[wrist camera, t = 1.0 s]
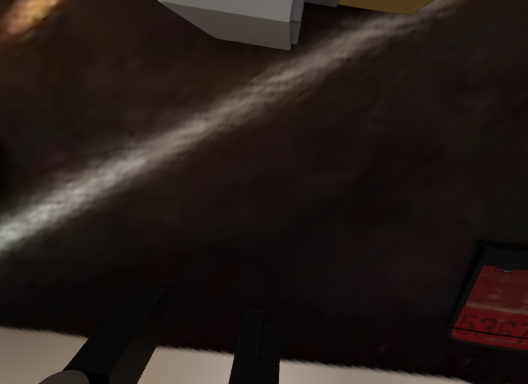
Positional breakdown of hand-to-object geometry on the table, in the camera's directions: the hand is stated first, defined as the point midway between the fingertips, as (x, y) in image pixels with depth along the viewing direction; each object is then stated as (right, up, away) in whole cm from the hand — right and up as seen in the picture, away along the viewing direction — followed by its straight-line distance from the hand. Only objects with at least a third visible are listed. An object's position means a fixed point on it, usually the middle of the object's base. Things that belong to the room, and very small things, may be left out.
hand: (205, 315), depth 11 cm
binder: (+38, -9, +27) cm, 48 cm away
